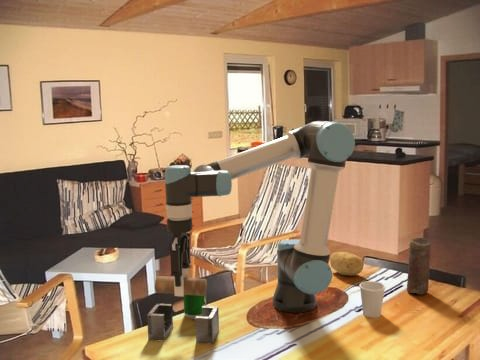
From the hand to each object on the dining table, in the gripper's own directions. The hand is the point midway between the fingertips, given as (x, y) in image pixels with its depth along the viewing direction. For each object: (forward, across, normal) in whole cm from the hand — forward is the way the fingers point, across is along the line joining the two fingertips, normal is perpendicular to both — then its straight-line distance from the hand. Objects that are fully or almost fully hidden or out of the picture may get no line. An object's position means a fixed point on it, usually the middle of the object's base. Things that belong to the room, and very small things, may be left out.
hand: (182, 292), depth 152 cm
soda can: (+14, -15, 0) cm, 20 cm away
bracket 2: (+14, 0, +8) cm, 16 cm away
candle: (+14, -44, +76) cm, 89 cm away
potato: (+14, -61, +51) cm, 81 cm away
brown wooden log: (0, -1, 0) cm, 1 cm away
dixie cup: (+14, -23, +58) cm, 64 cm away
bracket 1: (+14, 0, -7) cm, 16 cm away
